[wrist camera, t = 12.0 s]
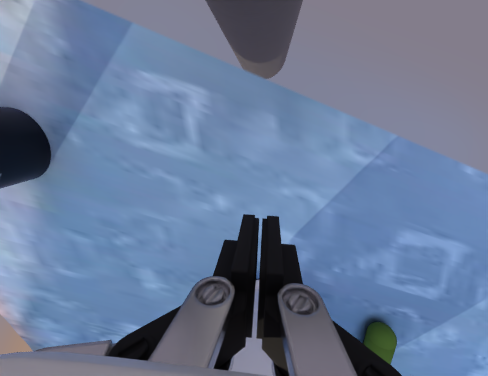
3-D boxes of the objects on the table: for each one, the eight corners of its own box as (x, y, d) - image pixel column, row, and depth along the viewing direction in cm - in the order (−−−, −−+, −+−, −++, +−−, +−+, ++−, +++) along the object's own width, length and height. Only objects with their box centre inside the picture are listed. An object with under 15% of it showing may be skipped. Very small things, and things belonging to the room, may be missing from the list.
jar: (211, 309, 31) (164, 469, 17) (249, 257, 28) (230, 400, 14) (276, 345, 32) (282, 526, 18) (320, 297, 29) (370, 473, 15)
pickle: (364, 314, 29) (376, 337, 26) (391, 317, 29) (405, 341, 26) (353, 360, 32) (362, 386, 28) (377, 363, 31) (389, 389, 28)
